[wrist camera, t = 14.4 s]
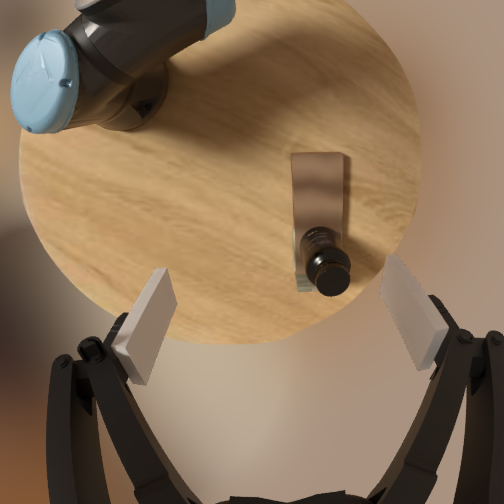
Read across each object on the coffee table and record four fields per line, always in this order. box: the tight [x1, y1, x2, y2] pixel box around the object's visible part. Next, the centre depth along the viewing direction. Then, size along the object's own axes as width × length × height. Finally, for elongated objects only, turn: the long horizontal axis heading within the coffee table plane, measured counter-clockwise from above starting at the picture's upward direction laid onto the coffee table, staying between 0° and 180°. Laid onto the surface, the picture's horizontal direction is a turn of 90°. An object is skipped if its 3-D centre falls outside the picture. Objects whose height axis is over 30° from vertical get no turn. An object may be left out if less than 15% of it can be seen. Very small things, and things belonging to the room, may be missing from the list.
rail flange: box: [291, 152, 343, 292], centre depth 44 cm, size 22×8×6 cm, turn 5°
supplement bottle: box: [300, 226, 351, 297], centre depth 41 cm, size 7×7×12 cm
